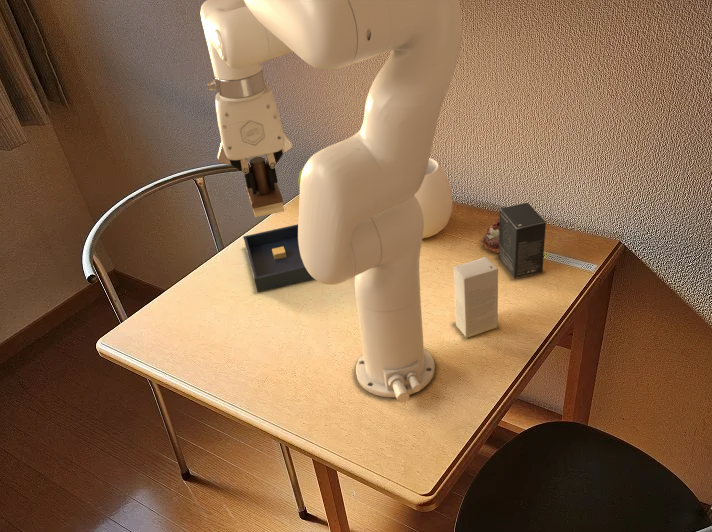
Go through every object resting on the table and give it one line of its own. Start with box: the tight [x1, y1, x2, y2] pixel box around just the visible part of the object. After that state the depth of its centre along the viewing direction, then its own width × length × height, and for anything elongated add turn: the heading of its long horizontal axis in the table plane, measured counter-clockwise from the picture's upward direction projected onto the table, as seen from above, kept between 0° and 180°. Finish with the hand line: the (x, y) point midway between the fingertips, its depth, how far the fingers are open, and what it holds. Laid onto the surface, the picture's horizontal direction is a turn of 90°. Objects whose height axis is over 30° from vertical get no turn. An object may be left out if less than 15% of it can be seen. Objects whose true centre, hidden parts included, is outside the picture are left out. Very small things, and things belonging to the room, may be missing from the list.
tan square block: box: [272, 246, 286, 260], centre depth 146 cm, size 2×2×1 cm
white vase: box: [414, 157, 453, 239], centre depth 145 cm, size 13×13×14 cm
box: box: [498, 202, 547, 279], centre depth 133 cm, size 8×6×11 cm
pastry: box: [482, 218, 500, 254], centre depth 140 cm, size 8×8×5 cm
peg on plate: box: [245, 156, 285, 218], centre depth 128 cm, size 7×5×9 cm
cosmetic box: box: [453, 256, 499, 339], centre depth 120 cm, size 6×4×12 cm
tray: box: [242, 223, 315, 293], centre depth 144 cm, size 16×12×3 cm
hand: (263, 188), depth 129 cm, fingers closed on peg on plate, 2 cm apart
